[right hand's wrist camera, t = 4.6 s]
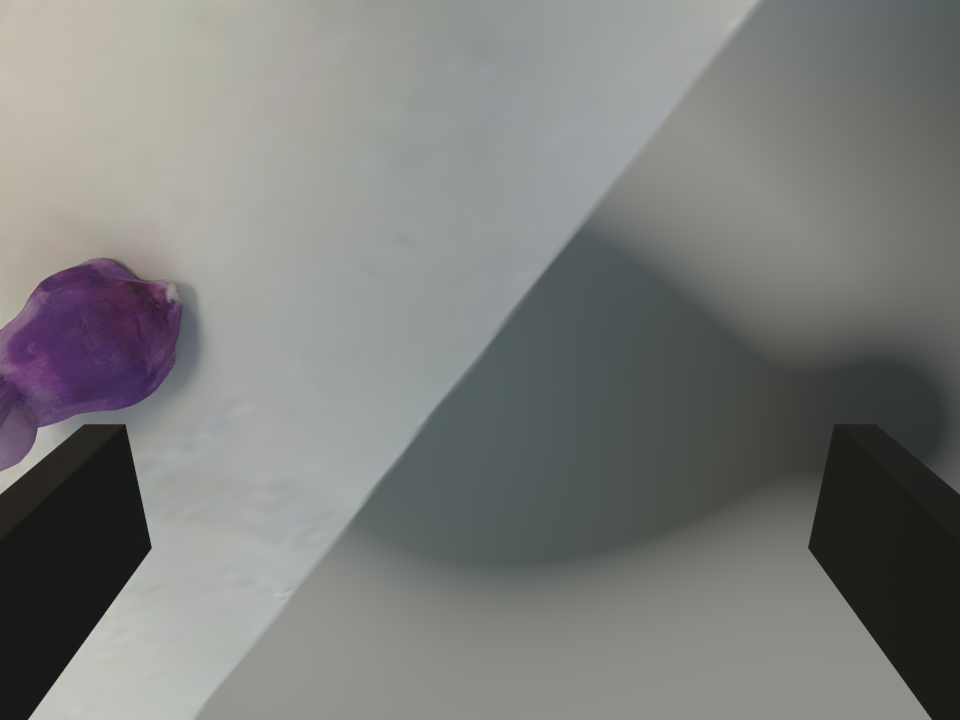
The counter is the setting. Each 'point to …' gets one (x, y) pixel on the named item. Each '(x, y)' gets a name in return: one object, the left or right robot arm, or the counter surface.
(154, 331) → the figurine
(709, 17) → the counter surface
